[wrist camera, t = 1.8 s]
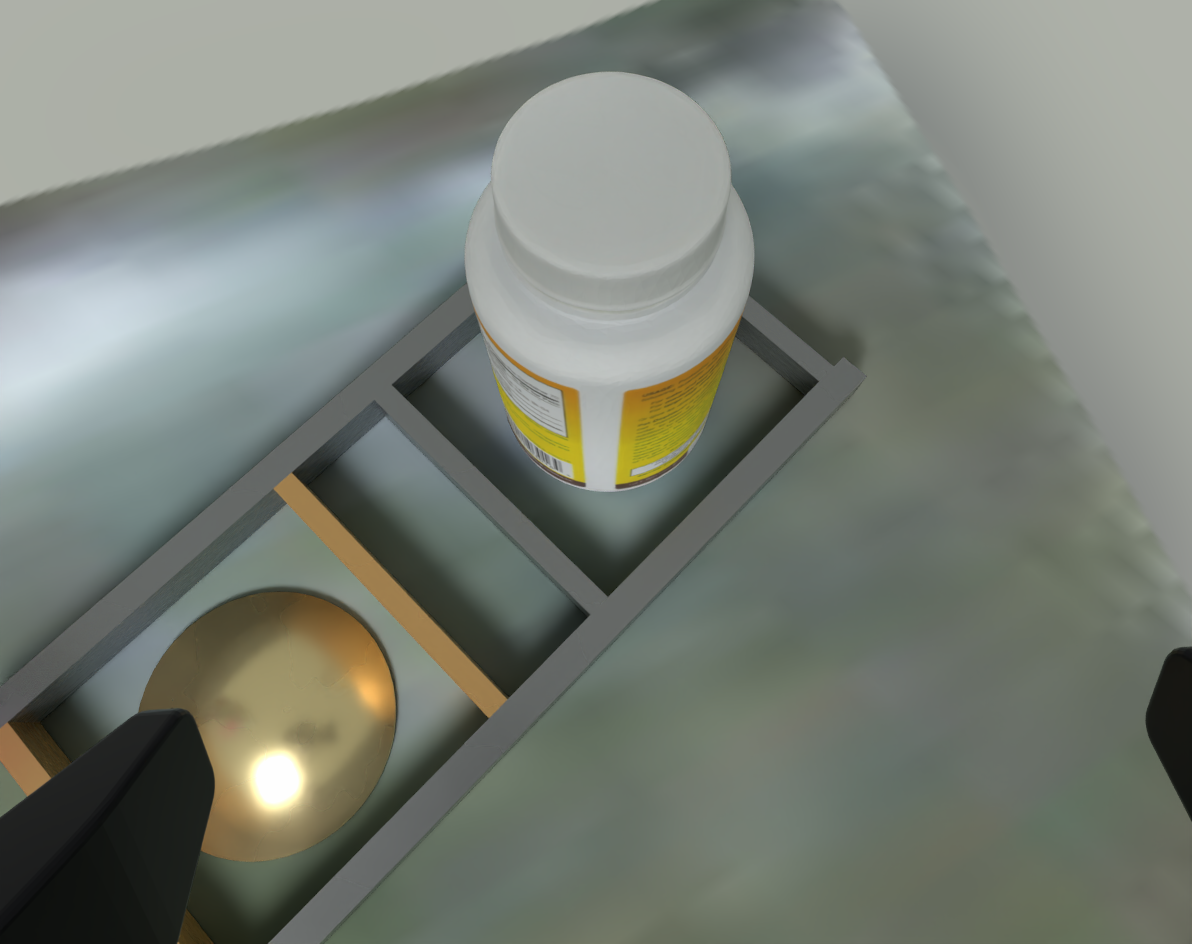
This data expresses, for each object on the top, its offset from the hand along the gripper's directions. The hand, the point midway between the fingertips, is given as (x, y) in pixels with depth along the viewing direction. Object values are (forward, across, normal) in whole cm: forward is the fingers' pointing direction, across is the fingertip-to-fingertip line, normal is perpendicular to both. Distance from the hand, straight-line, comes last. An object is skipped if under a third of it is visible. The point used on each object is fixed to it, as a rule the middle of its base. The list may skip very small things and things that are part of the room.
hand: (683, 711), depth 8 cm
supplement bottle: (+16, 0, +4) cm, 16 cm away
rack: (+13, +4, +6) cm, 15 cm away
